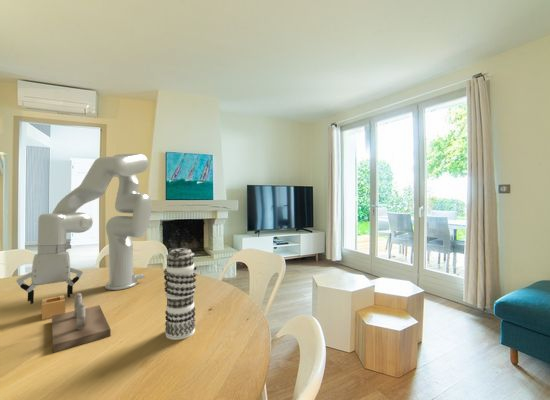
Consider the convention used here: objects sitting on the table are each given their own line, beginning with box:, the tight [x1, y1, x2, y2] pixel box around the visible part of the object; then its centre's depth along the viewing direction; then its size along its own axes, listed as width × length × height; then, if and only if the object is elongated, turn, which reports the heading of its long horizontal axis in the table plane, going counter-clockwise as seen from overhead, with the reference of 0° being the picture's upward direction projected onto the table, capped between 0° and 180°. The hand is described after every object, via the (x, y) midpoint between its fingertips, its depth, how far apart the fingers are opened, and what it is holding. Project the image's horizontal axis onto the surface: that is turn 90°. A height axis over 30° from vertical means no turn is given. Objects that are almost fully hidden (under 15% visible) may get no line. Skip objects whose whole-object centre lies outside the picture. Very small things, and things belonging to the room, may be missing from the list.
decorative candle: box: [163, 247, 197, 341], centre depth 80 cm, size 9×9×25 cm
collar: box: [41, 294, 66, 321], centre depth 92 cm, size 6×6×5 cm
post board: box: [51, 292, 112, 353], centre depth 83 cm, size 13×22×10 cm, turn 40°
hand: (50, 299), depth 92 cm, fingers open, 9 cm apart
